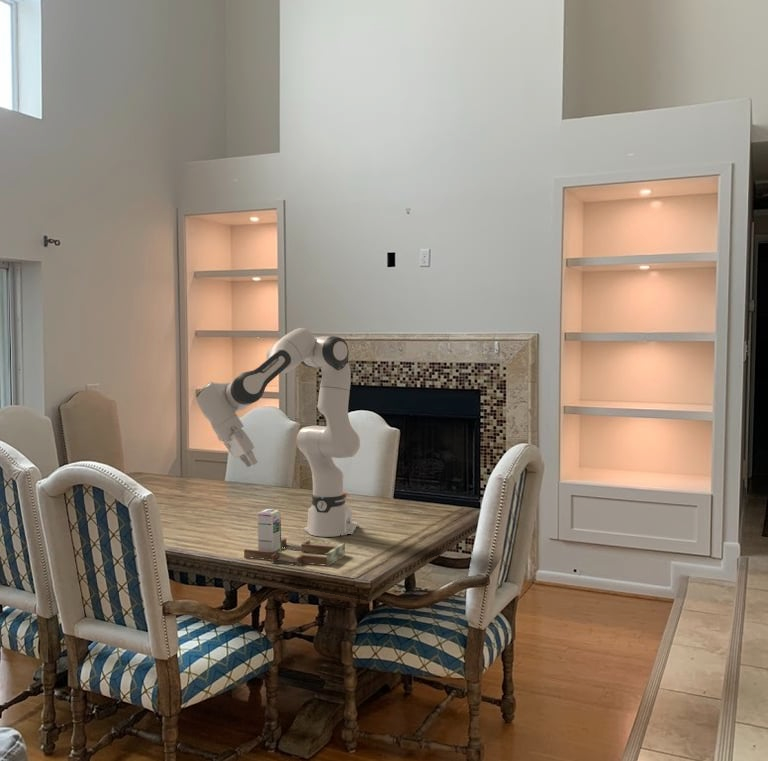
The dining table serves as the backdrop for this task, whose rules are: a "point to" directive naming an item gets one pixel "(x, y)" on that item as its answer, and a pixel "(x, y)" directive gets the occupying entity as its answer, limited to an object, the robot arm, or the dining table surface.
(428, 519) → the dining table surface
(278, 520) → the syrup box
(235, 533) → the dining table surface
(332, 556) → the trap lane
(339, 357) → the robot arm
